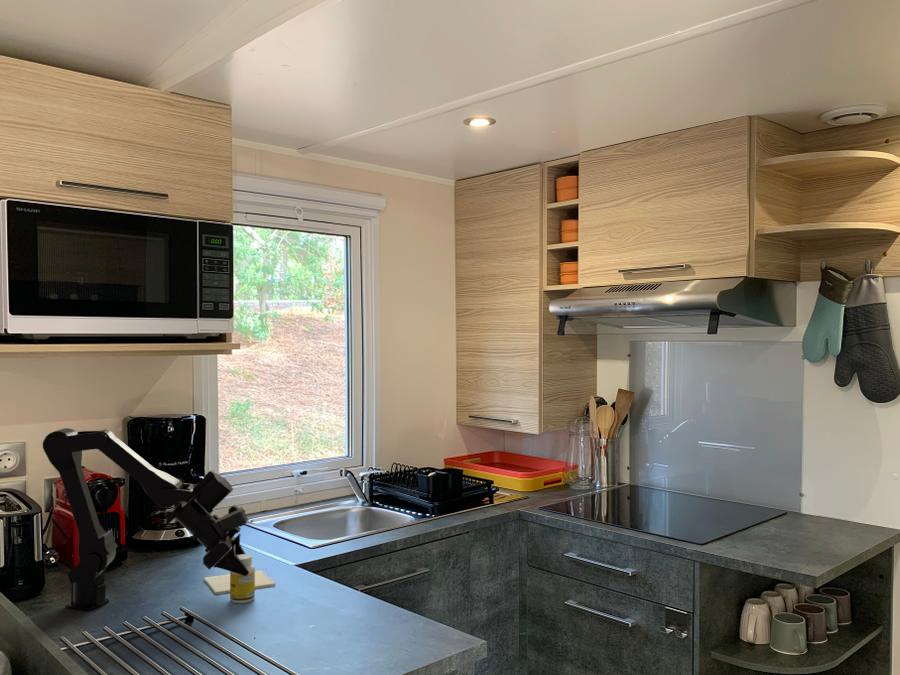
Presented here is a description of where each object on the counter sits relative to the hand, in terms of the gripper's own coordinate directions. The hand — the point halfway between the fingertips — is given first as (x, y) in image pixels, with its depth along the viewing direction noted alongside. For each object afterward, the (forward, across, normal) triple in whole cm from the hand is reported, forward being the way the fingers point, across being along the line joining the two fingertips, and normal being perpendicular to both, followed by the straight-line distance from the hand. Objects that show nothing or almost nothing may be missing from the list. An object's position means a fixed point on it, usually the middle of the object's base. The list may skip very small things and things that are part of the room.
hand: (249, 570), depth 173 cm
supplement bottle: (+4, 0, +6) cm, 7 cm away
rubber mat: (+2, +12, +7) cm, 14 cm away
